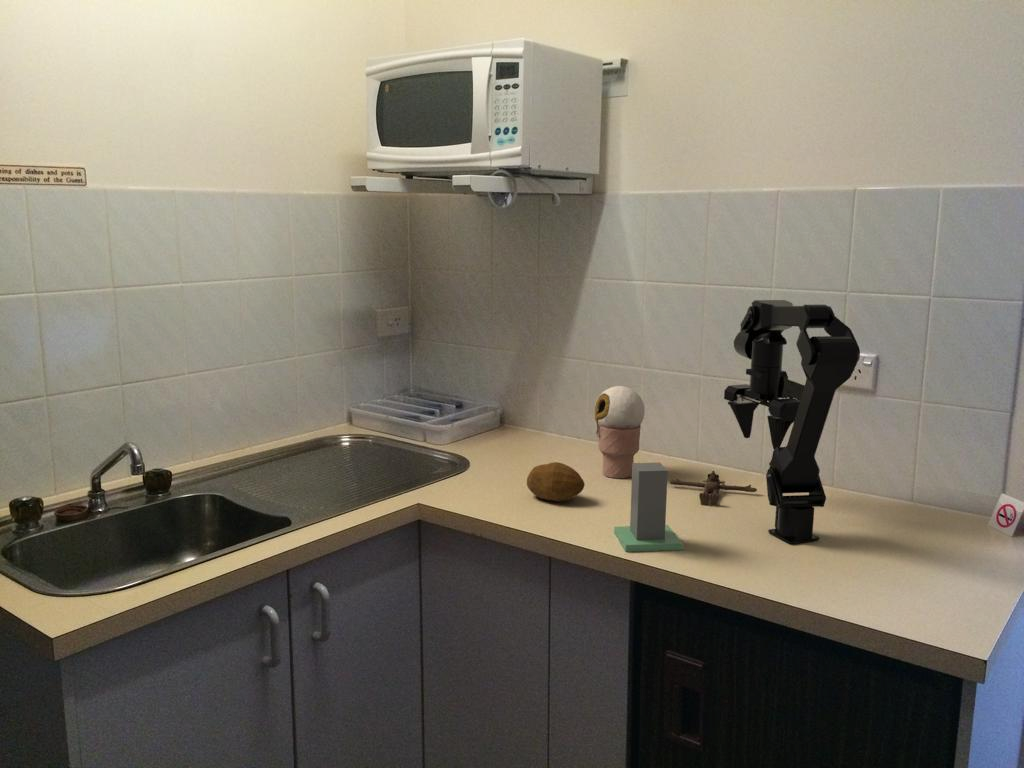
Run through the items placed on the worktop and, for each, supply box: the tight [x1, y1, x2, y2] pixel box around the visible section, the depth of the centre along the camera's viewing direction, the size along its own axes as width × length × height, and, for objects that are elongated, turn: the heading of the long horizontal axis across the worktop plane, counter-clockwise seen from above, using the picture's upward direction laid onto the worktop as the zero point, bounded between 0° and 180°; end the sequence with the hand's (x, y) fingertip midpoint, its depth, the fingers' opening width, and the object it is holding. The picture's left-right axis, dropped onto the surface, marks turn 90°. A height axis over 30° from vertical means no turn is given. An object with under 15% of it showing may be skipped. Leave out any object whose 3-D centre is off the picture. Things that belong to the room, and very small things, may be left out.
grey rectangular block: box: [629, 461, 669, 540], centre depth 153 cm, size 5×5×12 cm
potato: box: [526, 461, 585, 502], centre depth 176 cm, size 8×12×8 cm, turn 70°
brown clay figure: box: [668, 470, 758, 507], centre depth 180 cm, size 18×4×14 cm
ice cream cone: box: [594, 385, 646, 480], centre depth 192 cm, size 11×11×20 cm
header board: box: [613, 524, 683, 553], centre depth 154 cm, size 10×9×3 cm
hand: (761, 443), depth 170 cm, fingers open, 9 cm apart
